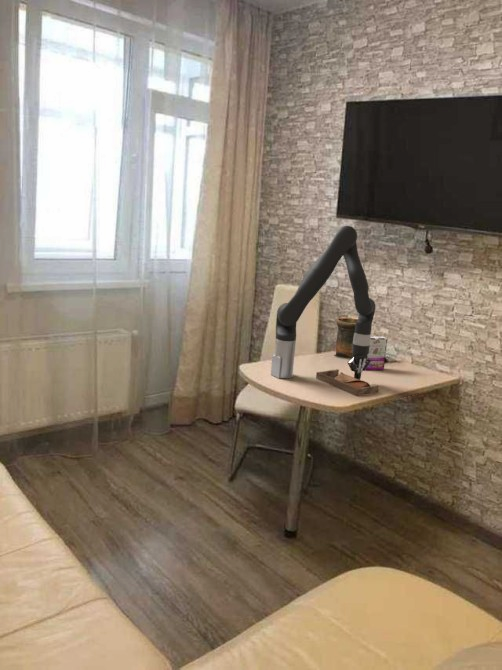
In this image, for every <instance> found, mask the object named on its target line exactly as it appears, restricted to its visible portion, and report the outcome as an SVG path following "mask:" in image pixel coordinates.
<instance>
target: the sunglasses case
mask: <svg viewBox="0 0 502 670" xmlns="http://www.w3.org/2000/svg"><path fill="white" fill-rule="evenodd" d="M333 378H334V379H336V380H339V381H341V382H343V383H346V384H348V385H350V386H353V387H355V388H363V387H369V386H371V385H370V383H368V382H367V381H365V380H361V379H360V380H359V379H356V378H354V376H351V375H348V374H346V373H344V372H340V373H339V374H338V376H335V377H333Z"/></svg>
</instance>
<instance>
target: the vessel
mask: <svg viewBox="0 0 502 670" xmlns="http://www.w3.org/2000/svg"><path fill="white" fill-rule="evenodd" d="M357 320H358V318H354V317H338V319H337V320H336V326H337V328H338V329H337V334H336V335H337V336H336V340H335V341H336V342H335V344H336V346H335V353H334V355H333V356H334V357H336V358H339V359H341V360H351V359H352V356H353V353H352V346H353V337H354V333H355V325H356V321H357Z"/></svg>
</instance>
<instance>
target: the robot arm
mask: <svg viewBox="0 0 502 670" xmlns="http://www.w3.org/2000/svg"><path fill="white" fill-rule="evenodd" d="M357 240H358V233H357V230H356V229H355V228H354V227H353V226H351V225H344V226H340V228H338V230H337V231H336V232H335V235H334V237H333V238H332V240H331V242H330V243H329V244H328V246H327V248H325V250H324V251H323V252H322V254H321V255H320V256H319V257H318V258H316V260H315V261H314V262H313V264H312V265H311V266H310V267H309V269H308V270H307V271H306V273H305V274H304V275H303V277H302V279H301V281H300V283H299V285H298V287H297V290H296V292H295V293H294V295H293V296H292V298H290V300H289V301H288V302H285V303H282V304H281V305H280V306H278V308H277V311H276V318H275V319H276V320H275V342H274V353H273V354H272V355H271V367H270V375H271V376H273V377H275V378H277V379H291V378H293V373H294V367H295V366H294V362H295V354H296V353H295V352H296V343H297V342H296V341H297V322H298V321H299V319H300V318H301V316H302V314H303V313H304V311H305V309H306V308H307V306H308V305H309V303H310V302H311V301H312V300H313V298H315V296H316V295H317V294H318V293H319V291H320V290H321V289H322V288H323V287H324V285H325V284H326V282H328V280H329V278H330V277H331V275H332V273H333V272H334V270H335V269H336V267H337V265H338V263H339V262H340V260H341V259H342V257H343V259H344V262H345V265H346V270H347V273H348V277H349V282H350V285H351V288H352V293H353V299H354V300H353V301H354V307H355V310H356V312H357V314H358V318H357V319H358V320H357V321H356V325H355V333H354V337H353V346H352V353H353V356H352V359H350V360H348V361H347V365H348V367H349V369H350V371H351V372H354V373H353V377H354V378H356V379H359V380H361V377H362V374H363V372H365V371H367V370H366V368H367V367H368V365H369V363H370V362H371V360H369V359H368V356H367V355H368V354H369V348H370V340H371V336H372V335H371V334H372V324H373V320H374V318H375V317H374V316H375V312H376V302H375V301H374V300H373V299H372V298H370V296H369V291H370V290H369V289H370V286H369V283H368V279H367V276H366V273H365V270H364V267H363V265H362V261H361V259H360V256H359V252H358V246H357V245H358V244H357Z"/></svg>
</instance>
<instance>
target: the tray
mask: <svg viewBox="0 0 502 670" xmlns="http://www.w3.org/2000/svg"><path fill="white" fill-rule="evenodd" d="M339 372H340V369H337V368H336V369H329V370H322V371H316V374H315V379H317V380H318V381H320V380H321V381H320V382H322V383H325V384H328V385H330V386H332V387H335V388H336V389H339V390H341V391H344V392H347V393H348V394H351V395H352V396H355V397H360V396H365V395H371V394H376V393H379V389H380V385H378V384H375V385H374V384H373V385H370V386H369V387H363V388H355V387H353V386H350V385H348V384H346V383H343V382H341V381H339V380H336V379H334V378H335V377H336V376H338V375H339V374H340V373H339Z"/></svg>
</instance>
